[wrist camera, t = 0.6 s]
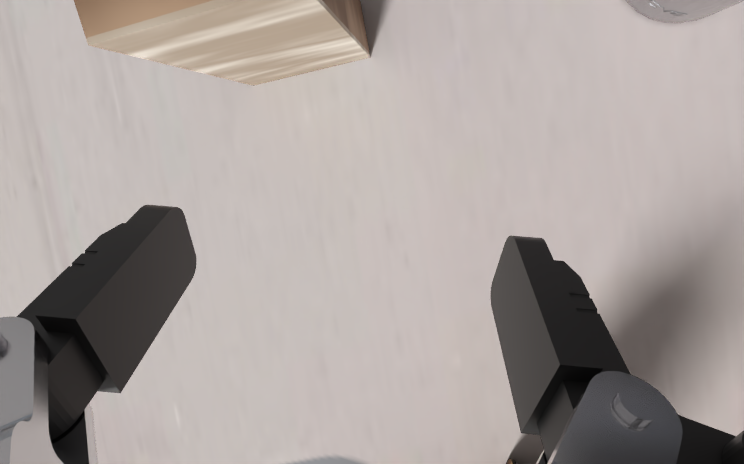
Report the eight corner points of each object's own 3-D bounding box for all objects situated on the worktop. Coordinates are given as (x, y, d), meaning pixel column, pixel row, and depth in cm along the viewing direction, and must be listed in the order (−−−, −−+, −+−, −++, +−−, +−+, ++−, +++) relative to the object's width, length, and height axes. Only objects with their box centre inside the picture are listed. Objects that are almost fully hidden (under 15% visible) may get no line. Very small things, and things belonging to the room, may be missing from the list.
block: (240, 34, 32) (55, -57, 16) (360, 1, 30) (276, -137, 14) (253, 85, 32) (88, 45, 17) (370, 57, 30) (301, -17, 15)
